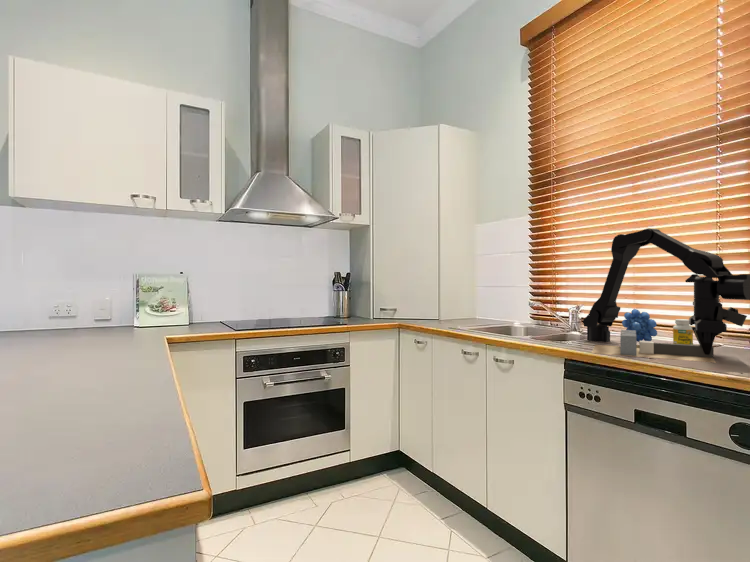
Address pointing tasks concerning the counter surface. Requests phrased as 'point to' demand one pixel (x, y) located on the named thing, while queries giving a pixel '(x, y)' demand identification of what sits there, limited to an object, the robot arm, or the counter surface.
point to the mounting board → (616, 351)
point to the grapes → (640, 325)
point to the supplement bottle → (682, 332)
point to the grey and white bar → (673, 349)
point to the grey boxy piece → (628, 342)
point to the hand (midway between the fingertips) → (706, 353)
